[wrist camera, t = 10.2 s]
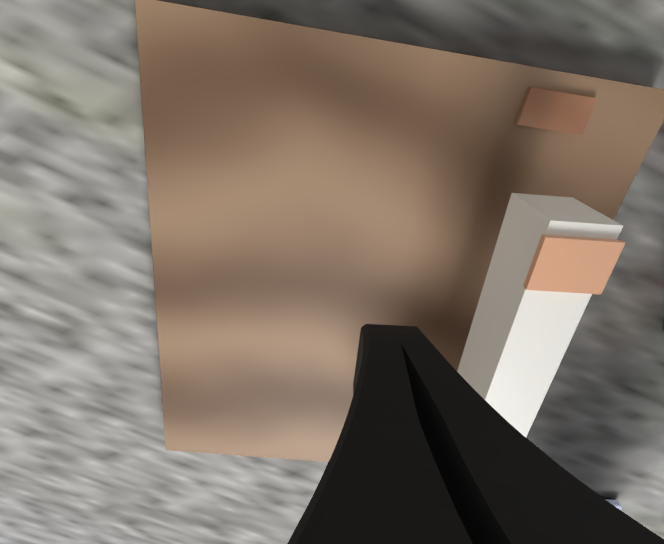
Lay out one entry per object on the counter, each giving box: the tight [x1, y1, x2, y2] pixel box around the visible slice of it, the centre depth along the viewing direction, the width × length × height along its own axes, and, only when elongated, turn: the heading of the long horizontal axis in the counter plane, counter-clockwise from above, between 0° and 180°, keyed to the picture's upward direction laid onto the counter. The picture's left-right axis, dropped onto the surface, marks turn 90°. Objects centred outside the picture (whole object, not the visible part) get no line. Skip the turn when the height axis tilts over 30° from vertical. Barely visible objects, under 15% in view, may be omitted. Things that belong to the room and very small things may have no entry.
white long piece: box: [457, 193, 625, 437], centre depth 15 cm, size 16×7×3 cm, turn 175°
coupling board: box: [135, 0, 664, 462], centre depth 17 cm, size 20×18×4 cm
